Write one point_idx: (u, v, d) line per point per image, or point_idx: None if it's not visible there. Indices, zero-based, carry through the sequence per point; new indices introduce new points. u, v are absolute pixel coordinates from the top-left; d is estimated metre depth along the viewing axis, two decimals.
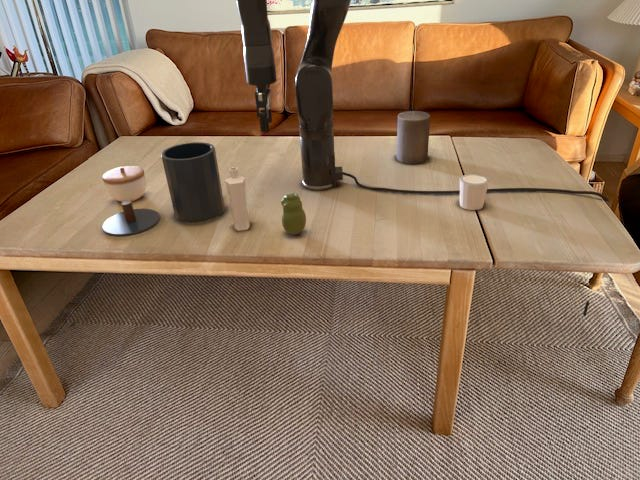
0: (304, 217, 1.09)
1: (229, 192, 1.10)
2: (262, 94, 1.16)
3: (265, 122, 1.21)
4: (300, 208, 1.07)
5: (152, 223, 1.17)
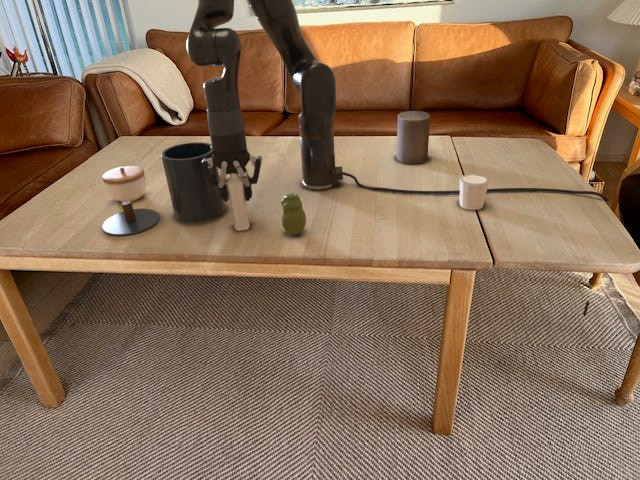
0: (304, 217, 1.09)
1: (229, 192, 1.10)
2: (201, 163, 1.07)
3: (220, 190, 1.10)
4: (300, 208, 1.07)
5: (152, 223, 1.17)
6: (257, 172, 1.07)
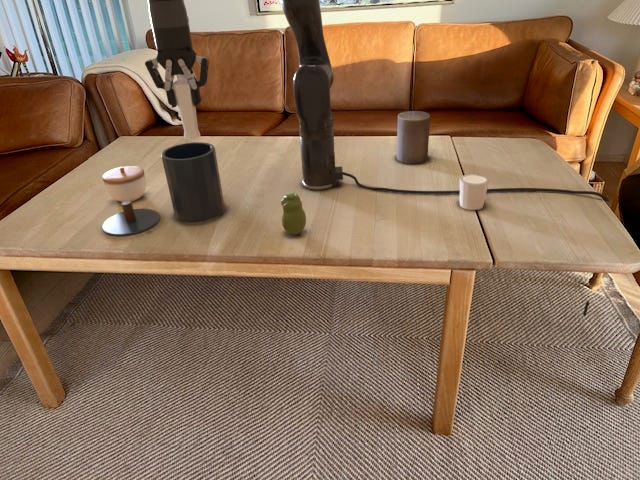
0: (304, 217, 1.09)
1: (176, 96, 1.06)
2: None
3: None
4: (300, 208, 1.07)
5: (152, 223, 1.17)
6: (204, 73, 1.04)
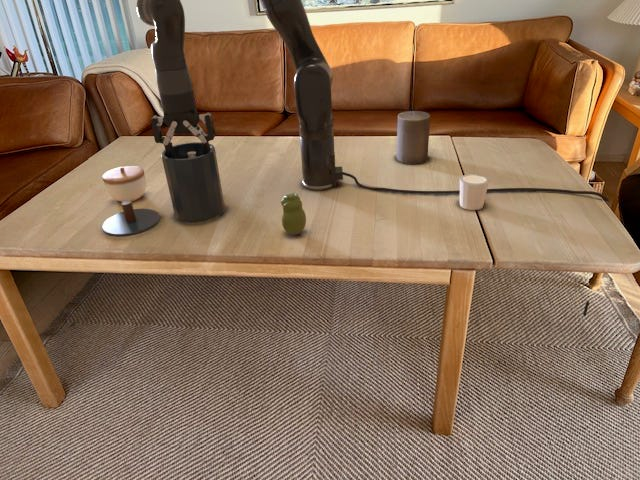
0: (304, 217, 1.09)
1: None
2: (151, 119, 1.10)
3: None
4: (300, 208, 1.07)
5: (152, 223, 1.17)
6: (210, 128, 1.11)
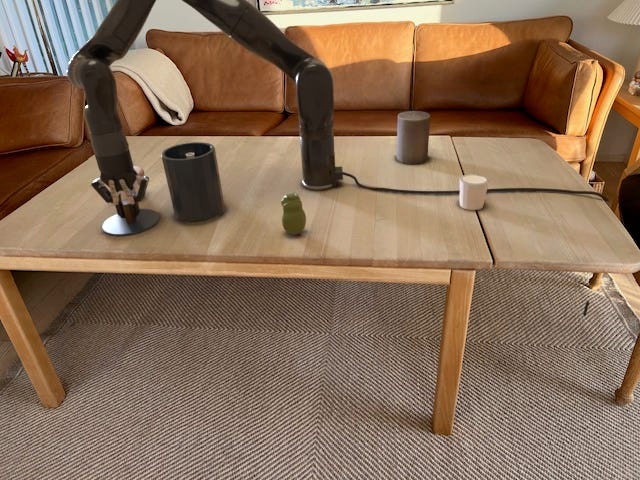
0: (304, 217, 1.09)
1: None
2: None
3: None
4: (300, 208, 1.07)
5: (152, 223, 1.17)
6: (141, 191, 1.14)
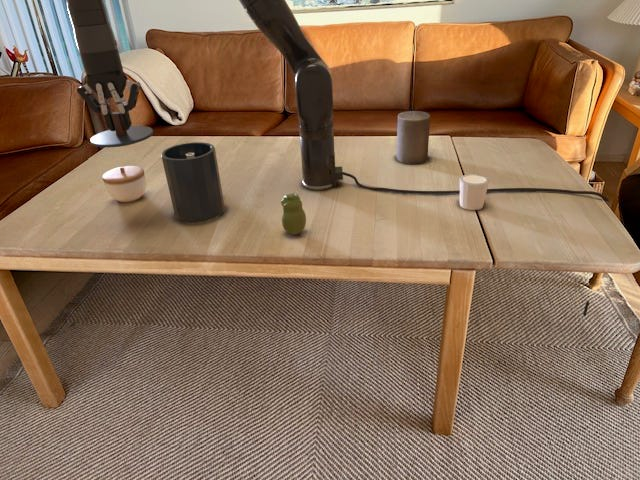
0: (304, 217, 1.09)
1: None
2: None
3: None
4: (300, 208, 1.07)
5: (145, 135, 1.07)
6: (132, 98, 1.03)
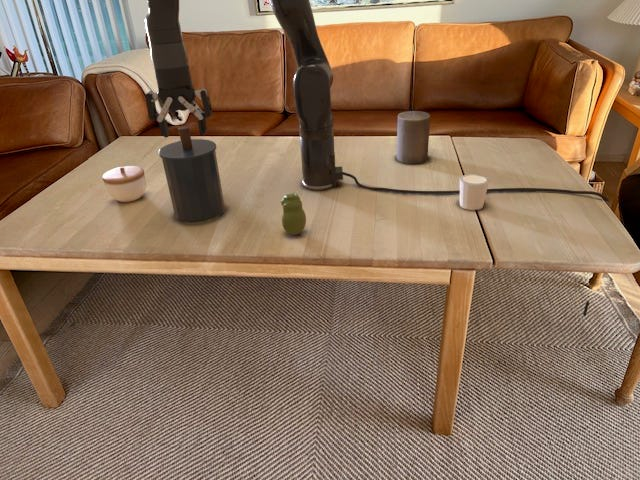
0: (304, 217, 1.09)
1: None
2: None
3: None
4: (300, 208, 1.07)
5: (210, 149, 1.13)
6: (206, 104, 1.08)
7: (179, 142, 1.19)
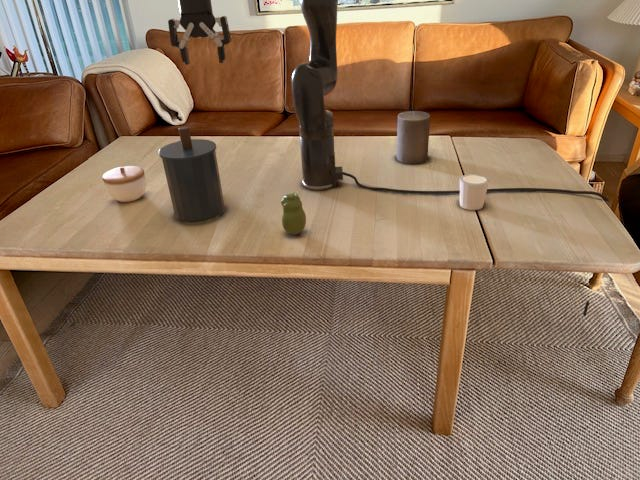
0: (304, 217, 1.09)
1: None
2: None
3: None
4: (300, 208, 1.07)
5: (210, 149, 1.13)
6: (225, 30, 1.14)
7: (179, 142, 1.19)
